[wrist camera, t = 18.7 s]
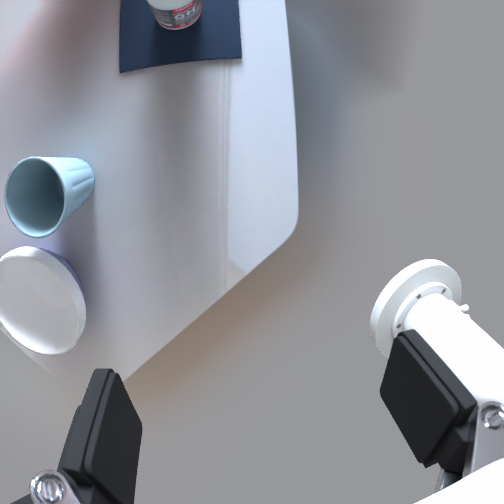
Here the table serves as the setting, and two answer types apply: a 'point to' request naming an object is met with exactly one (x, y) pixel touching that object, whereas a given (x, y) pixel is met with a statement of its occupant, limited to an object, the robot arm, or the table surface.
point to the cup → (46, 193)
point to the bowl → (41, 300)
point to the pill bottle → (175, 12)
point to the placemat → (177, 35)
